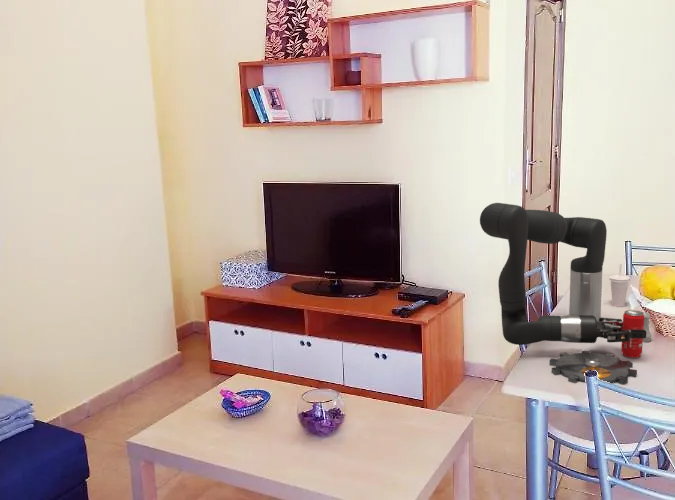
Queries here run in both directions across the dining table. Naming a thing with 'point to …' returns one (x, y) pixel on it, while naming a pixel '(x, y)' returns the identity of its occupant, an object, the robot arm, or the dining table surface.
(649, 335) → the rook chess piece
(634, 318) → the beverage can
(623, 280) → the smoothie
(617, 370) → the sprocket
